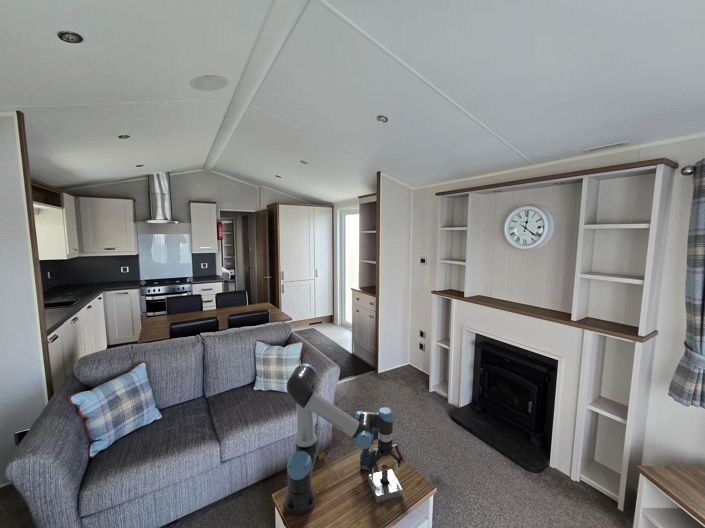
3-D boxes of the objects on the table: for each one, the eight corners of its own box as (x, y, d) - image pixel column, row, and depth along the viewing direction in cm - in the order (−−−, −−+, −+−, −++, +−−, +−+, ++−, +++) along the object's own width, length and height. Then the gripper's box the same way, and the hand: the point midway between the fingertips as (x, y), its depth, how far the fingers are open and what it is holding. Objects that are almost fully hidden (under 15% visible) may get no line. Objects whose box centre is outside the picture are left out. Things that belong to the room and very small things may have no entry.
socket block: (376, 502, 157) (376, 495, 157) (367, 480, 170) (367, 474, 170) (402, 495, 161) (402, 489, 161) (391, 475, 174) (391, 469, 174)
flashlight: (379, 484, 168) (379, 463, 167) (385, 482, 169) (385, 461, 168) (383, 493, 162) (383, 472, 161) (390, 491, 163) (390, 470, 162)
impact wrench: (390, 475, 174) (390, 433, 171) (350, 468, 179) (350, 428, 176) (391, 464, 182) (391, 424, 179) (353, 458, 187) (353, 419, 184)
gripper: (364, 447, 155) (364, 486, 158) (410, 438, 162) (409, 475, 165) (360, 437, 162) (359, 475, 165) (404, 429, 169) (402, 465, 172)
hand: (384, 475), depth 165 cm, fingers open, 13 cm apart
